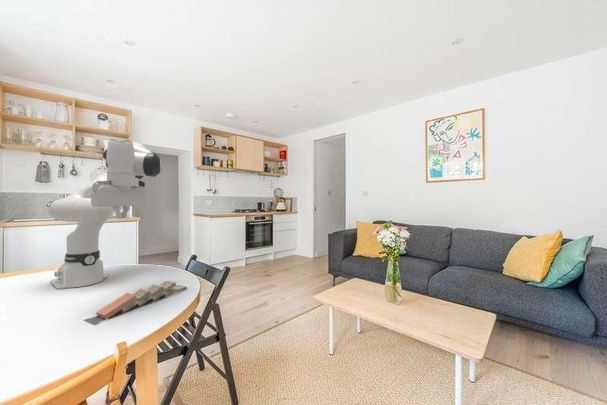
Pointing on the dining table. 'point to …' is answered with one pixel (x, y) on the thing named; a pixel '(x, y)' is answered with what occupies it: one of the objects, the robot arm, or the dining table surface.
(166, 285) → the domino
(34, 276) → the dining table surface
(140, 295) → the domino
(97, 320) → the slate mat
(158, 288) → the domino
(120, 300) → the terracotta domino
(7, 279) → the dining table surface
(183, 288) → the domino
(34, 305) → the dining table surface
